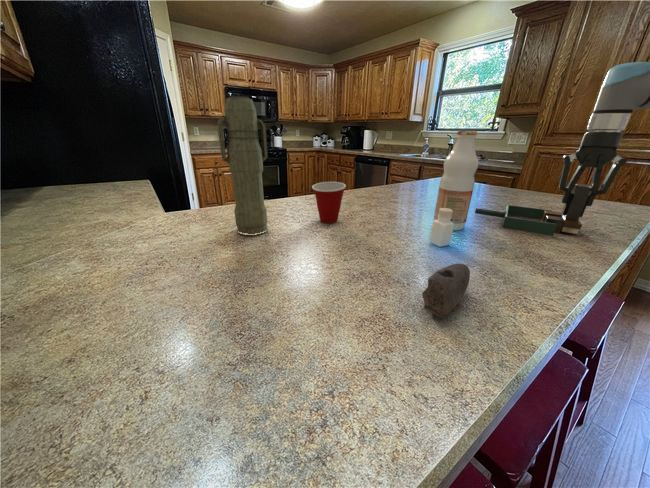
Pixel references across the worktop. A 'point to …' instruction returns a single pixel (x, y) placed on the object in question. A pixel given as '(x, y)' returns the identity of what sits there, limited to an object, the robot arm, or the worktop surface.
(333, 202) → the plastic cup
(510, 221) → the dustpan
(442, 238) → the pepper shaker
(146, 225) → the worktop surface
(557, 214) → the crumb block
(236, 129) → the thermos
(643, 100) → the robot arm
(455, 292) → the perforated stone tool
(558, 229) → the crumb block
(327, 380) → the worktop surface
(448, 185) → the fruit juice
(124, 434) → the worktop surface
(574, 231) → the brush
